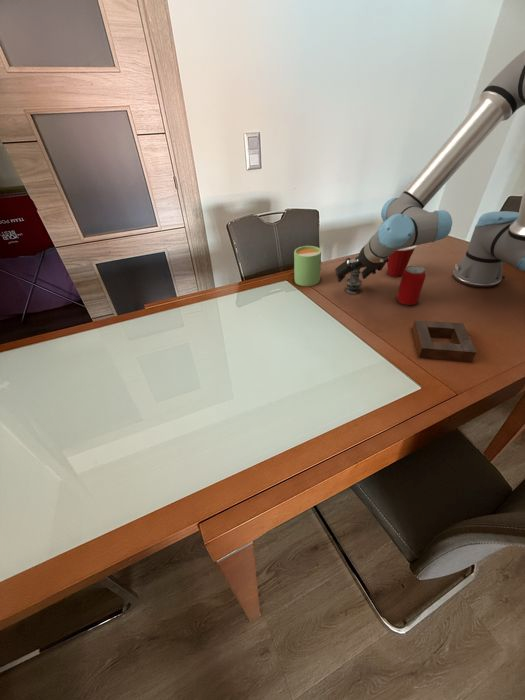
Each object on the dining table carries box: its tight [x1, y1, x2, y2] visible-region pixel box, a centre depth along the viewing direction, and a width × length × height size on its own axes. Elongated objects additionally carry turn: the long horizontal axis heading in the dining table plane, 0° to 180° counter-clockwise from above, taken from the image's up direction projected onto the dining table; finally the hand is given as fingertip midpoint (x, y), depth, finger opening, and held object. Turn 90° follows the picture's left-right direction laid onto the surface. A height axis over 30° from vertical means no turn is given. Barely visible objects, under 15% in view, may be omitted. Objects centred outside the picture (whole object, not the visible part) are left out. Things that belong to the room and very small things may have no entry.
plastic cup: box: [386, 245, 418, 278], centre depth 116 cm, size 11×11×12 cm
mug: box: [293, 245, 323, 287], centre depth 118 cm, size 13×10×12 cm
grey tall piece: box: [345, 269, 363, 295], centre depth 109 cm, size 6×6×12 cm
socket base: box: [411, 319, 477, 363], centre depth 85 cm, size 13×13×4 cm
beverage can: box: [396, 264, 426, 306], centre depth 100 cm, size 7×7×12 cm
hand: (351, 276), depth 113 cm, fingers open, 9 cm apart
